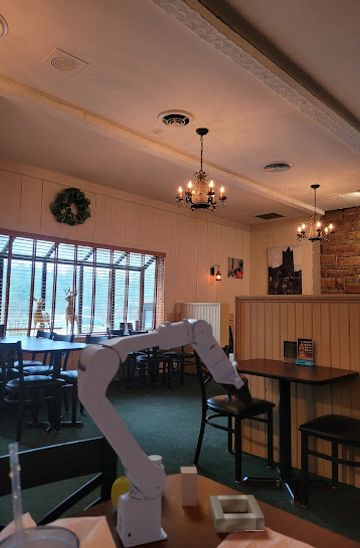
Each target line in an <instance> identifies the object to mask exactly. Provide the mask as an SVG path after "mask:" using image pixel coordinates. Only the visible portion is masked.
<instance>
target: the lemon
mask: <svg viewBox="0 0 360 548" xmlns="http://www.w3.org/2000/svg"><path fill="white" fill-rule="evenodd" d="M129 487H130V481H129V480H128V479H127V477H126V476H123V475H122V476H120V477H119V478H117V479H116V480H115V481H114V482H113V484H112V488H111V493H110V497H111V501H112V504H113V506H114V507H115V508H117V509H118V498H119V496H121V495H124V494H126V493H128V492H129Z"/></svg>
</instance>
